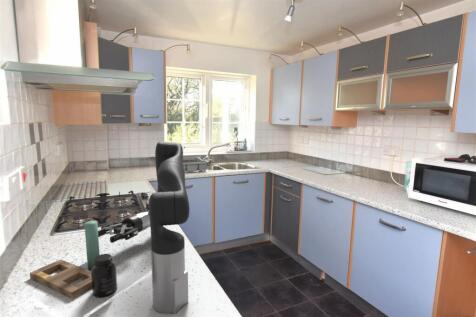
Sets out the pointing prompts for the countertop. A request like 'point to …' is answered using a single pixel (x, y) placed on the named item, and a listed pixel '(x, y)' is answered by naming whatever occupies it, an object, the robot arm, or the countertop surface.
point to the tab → (85, 266)
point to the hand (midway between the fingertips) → (102, 237)
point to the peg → (91, 242)
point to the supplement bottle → (103, 276)
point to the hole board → (63, 278)
